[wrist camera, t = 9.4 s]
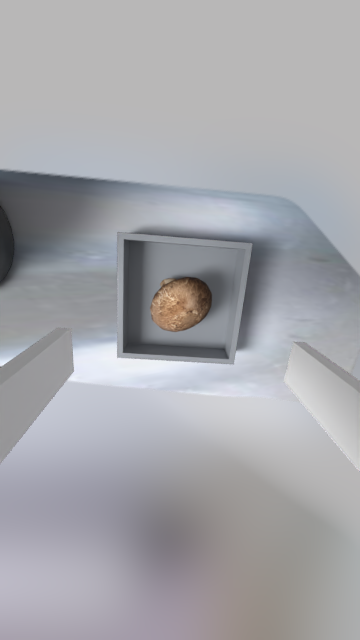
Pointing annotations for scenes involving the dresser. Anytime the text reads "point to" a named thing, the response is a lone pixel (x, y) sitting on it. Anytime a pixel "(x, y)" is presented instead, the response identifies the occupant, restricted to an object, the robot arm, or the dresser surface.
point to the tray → (177, 262)
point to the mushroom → (180, 303)
